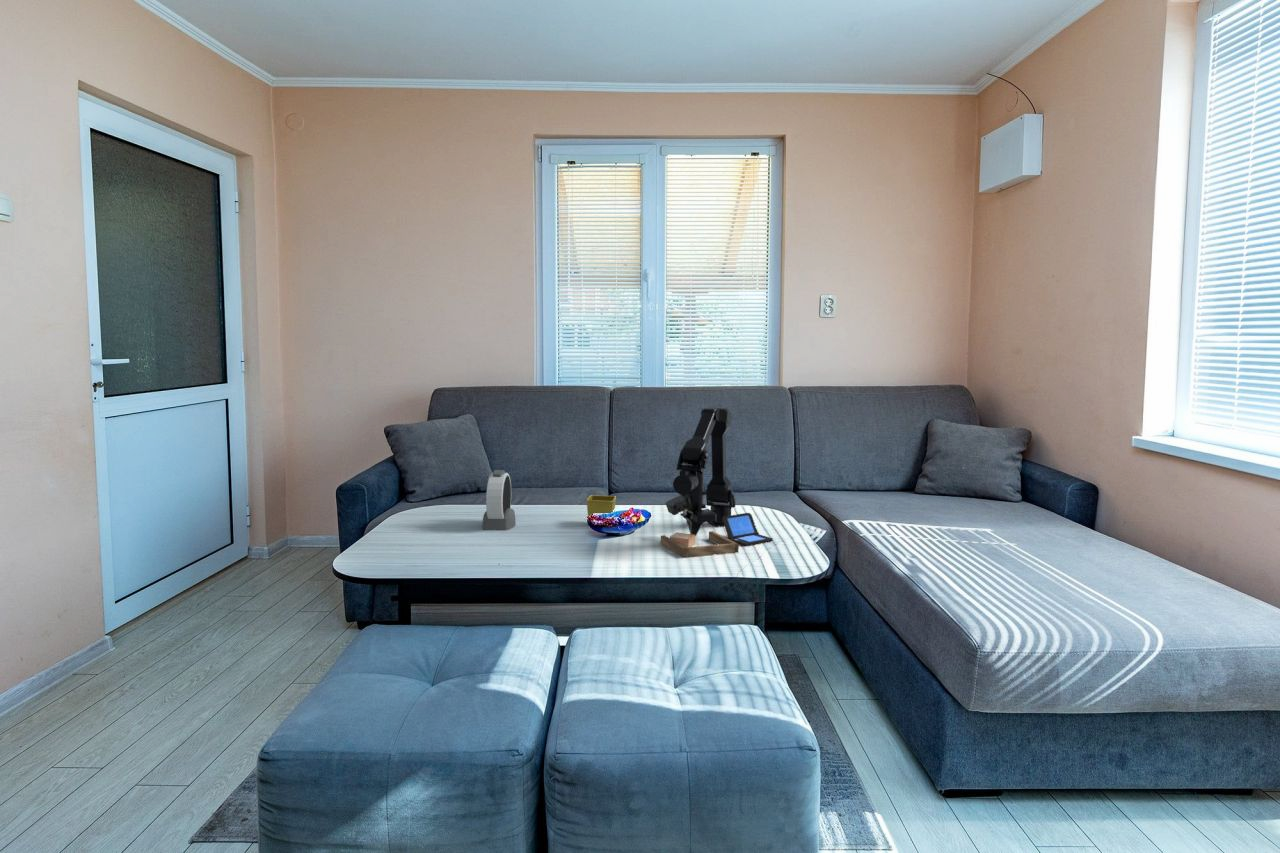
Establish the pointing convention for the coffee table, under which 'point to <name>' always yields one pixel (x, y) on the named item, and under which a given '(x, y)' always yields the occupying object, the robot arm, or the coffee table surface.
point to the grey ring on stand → (498, 503)
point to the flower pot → (600, 504)
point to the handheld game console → (743, 530)
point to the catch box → (722, 548)
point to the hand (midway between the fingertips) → (693, 537)
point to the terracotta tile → (684, 539)
